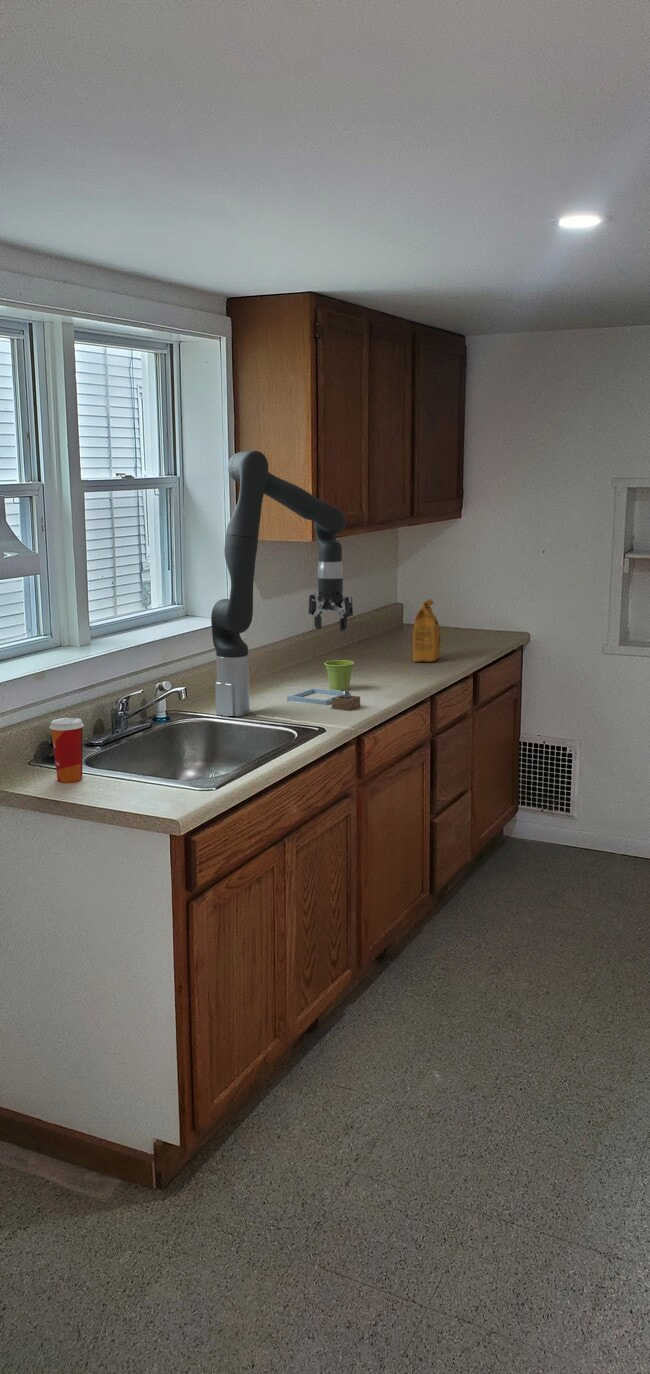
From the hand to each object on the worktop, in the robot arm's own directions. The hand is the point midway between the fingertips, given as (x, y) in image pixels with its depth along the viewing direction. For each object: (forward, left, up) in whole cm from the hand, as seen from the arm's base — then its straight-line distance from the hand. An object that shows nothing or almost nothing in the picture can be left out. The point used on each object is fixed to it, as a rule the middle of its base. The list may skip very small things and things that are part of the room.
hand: (330, 629), depth 335 cm
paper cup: (-105, +5, -22) cm, 107 cm away
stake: (-11, -12, -22) cm, 27 cm away
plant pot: (+14, +6, -22) cm, 27 cm away
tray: (-4, +2, -22) cm, 22 cm away
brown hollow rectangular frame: (-11, -12, -21) cm, 26 cm away
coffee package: (+74, +6, -22) cm, 77 cm away
